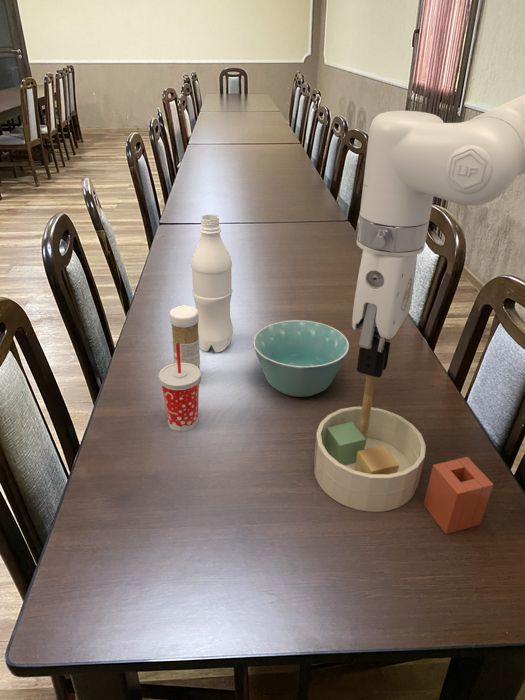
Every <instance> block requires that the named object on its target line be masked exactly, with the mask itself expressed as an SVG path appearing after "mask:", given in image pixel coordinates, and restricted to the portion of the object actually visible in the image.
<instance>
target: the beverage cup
mask: <svg viewBox="0 0 525 700" xmlns="http://www.w3.org/2000/svg"><path fill="white" fill-rule="evenodd" d="M176 351H177V363H174V362H173V363H169V364H167V365H166V366H164V367H162V368H161V369H160V371H159V372H158V380H159V381H158V382H159V383H160V385H161V389H162V396H163V400H164V401H163V403H164V405H165V406H164V408H165V414H166V419H167V425H168V427H169V428H170V429H171V430H173V431H175V432H188V431H191V430H193V429H194V428H196V427H197V425H198V424H199V398H200V397H199V394H200V393H199V392H200V391H199V390H200V382H201V381H202V375H201V368H200V369H199V368H198V367H197V366H195V365H193V364H190V363H181V361H180V347H179V343H177V344H176ZM199 381H200V382H199Z"/></svg>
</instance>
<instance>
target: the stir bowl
mask: <svg viewBox="0 0 525 700" xmlns="http://www.w3.org/2000/svg"><path fill="white" fill-rule="evenodd" d="M361 412H362V406H350V407H343V408H339V409H337V410H336V411H334V412H331V413H329V414H328V415H326V416H325V417H324V418H323V419H322V420H321V422H320V423H319V424H318V428H317V430H316V433H315V445H314V453H313V474H314V478H315V480H316V481H317V484H318V485H319V487H320V488H321V489H322V491H323V492H324V493H325V494H326V495H327V496H329V498H331V499H332V500H334V501H336V502H337V503H339V504H341V505H343V506H345V507H346V508H347V507H348V508H350V509H353V510H357V511H362V512H368V513H380V512H389V511H392V510H395V509H398V508H400V507H402V506H404V505H406V504H407V503H408V502H409V501H410V500H412V498H413V497H414V496H415V495H416V492H417V489H418V486H419V483H420V479H421V475H422V470H423V466H424V462H425V458H426V449H427V448H426V447H427V446H426V443H425V440H424V437H423V434H422V433H421V432H420V431H419V430H418V429H417V427H415V425H414V424H413V423H411V422H410V421H409V420H407V419H406V418H404V417H403V416H401V415H399V414H396V413H395V412H391V411H389V410H387V409H384V408H383V409H382V408H378V407H372V406H371V412H370V419H369V427H368V434H367V441H366V445H365V449H369V448H374V447H379V446H383V445H384V446H385V447H386V449H387V450H388V451H389V453H390V454H391V455H392V456H393V458H394V459H395V460H396V462H397V463H398V464H399V468H398V472H397V473H392V474H388V475H387V474H368V473H363V472H359V471H355V465H356V463H353V464H349V465H345V466H344V465H342V464H340V463H339V462H338V461H336V460H335V459H334V458H333V457H332V456H330V455H329V454H328V452H327V450H326V449H325V443H326V433H327V427H332V426H336V425H340V424H345V423H349V422H353V423H354V425H355V426H356V427H357V428H358V430H359V427H360V419H361ZM365 449H364V450H365Z"/></svg>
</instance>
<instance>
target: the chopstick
mask: <svg viewBox="0 0 525 700" xmlns="http://www.w3.org/2000/svg"><path fill="white" fill-rule="evenodd" d="M373 336H375V337H378V339H379V335H375V334H374V335H373ZM375 384H376V377H374V376H370V375H367V374H365V380H364V390H363V396H362V397H363V399H362V403H361V405H362V406H361V407H362V412H361V419H360V427H359V431H360V432H361V433H362V435H363V436H364V437H365V439H366V441H367V434H368V427H369V419H370V412H371V407H372V404H373V397H374V390H375ZM365 445H366V443H365Z"/></svg>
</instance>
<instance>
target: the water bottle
mask: <svg viewBox="0 0 525 700" xmlns="http://www.w3.org/2000/svg"><path fill="white" fill-rule="evenodd" d="M200 224H201V225H200V228H199V232H200V240H199V241H198V244H197V246H196V247H195V250H194V252H193V254H192V256H191V261H190V268H191V278H192V279H191V280H192V291H191V293H192V297H193V300H194V305H195V308H196V309H197V310H198V315H199V321H198V336H199V349H200V350H202V351H204V352H208V351H209V350H210V348H211V347H212V349H213V351H214V353H220V352H223V351H225V350H226V348H227V347H229V346H230V344H231V342H232V340H233V337H234V326H233V325H234V324H233V322H232V317H231V299H232V295H233V288H232V267H233V262H232V257H231V254H230V253H229V251H228V249H227V247H226V246H225V244H224V242H223V240H222V238H221V232H222V230H221V225H220V217H219V216H218V215H216V214H205V215H202V216H200Z"/></svg>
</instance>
